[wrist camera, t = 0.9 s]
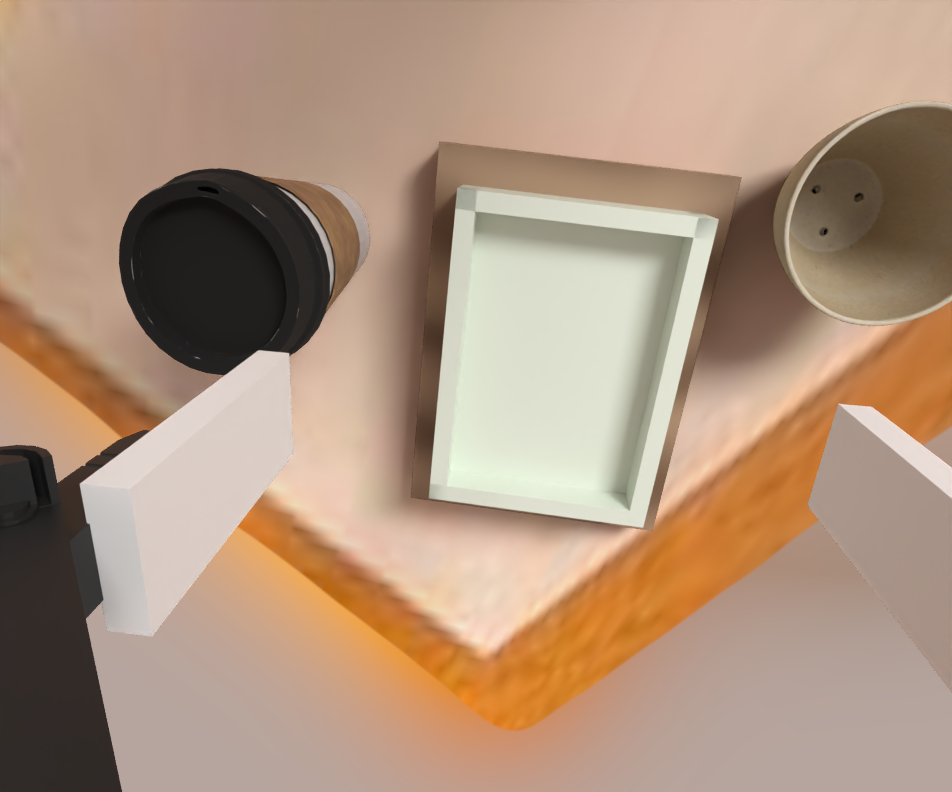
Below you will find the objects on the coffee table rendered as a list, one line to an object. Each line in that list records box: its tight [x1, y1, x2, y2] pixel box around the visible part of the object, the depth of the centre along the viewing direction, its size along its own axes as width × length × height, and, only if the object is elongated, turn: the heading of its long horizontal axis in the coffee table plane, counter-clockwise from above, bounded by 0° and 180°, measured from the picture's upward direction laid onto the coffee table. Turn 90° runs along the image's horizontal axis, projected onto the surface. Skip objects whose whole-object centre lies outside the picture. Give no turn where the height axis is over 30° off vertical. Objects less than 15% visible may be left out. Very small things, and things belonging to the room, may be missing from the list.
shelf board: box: [411, 142, 742, 531], centre depth 39 cm, size 22×16×2 cm
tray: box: [429, 185, 719, 528], centre depth 36 cm, size 18×13×3 cm
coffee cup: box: [119, 168, 370, 375], centre depth 32 cm, size 8×8×15 cm
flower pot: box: [773, 101, 952, 326], centre depth 32 cm, size 10×10×7 cm
